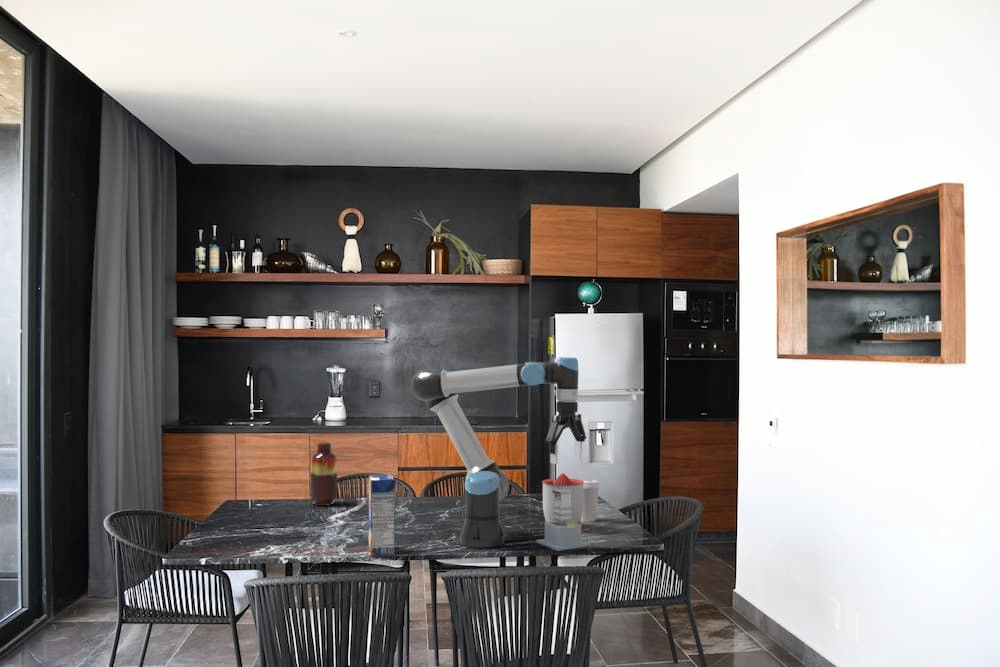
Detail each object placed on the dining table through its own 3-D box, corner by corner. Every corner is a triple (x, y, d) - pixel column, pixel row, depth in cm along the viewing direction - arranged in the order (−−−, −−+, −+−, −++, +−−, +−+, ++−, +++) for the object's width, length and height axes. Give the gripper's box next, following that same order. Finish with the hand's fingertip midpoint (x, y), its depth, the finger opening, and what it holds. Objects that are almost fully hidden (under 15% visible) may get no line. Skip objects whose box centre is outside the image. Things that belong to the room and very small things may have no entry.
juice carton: (368, 547, 257) (368, 474, 257) (391, 545, 258) (391, 474, 259) (371, 556, 245) (371, 480, 246) (394, 554, 247) (394, 479, 248)
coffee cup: (599, 523, 294) (598, 483, 295) (574, 522, 296) (573, 482, 296) (600, 517, 303) (600, 479, 304) (576, 516, 305) (576, 478, 306)
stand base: (557, 550, 252) (557, 526, 252) (536, 542, 263) (536, 519, 264) (589, 546, 258) (589, 522, 258) (568, 538, 270) (568, 515, 270)
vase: (328, 500, 340) (328, 441, 340) (341, 504, 331) (342, 443, 332) (305, 503, 332) (306, 443, 333) (318, 507, 324) (319, 445, 325)
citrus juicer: (576, 520, 298) (576, 468, 299) (589, 530, 281) (589, 475, 282) (536, 522, 295) (536, 469, 296) (547, 532, 278) (547, 476, 279)
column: (560, 546, 257) (560, 492, 258) (552, 542, 262) (552, 490, 262) (573, 544, 260) (573, 491, 260) (565, 540, 264) (564, 488, 265)
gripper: (553, 402, 260) (552, 466, 260) (596, 400, 279) (595, 459, 278) (536, 401, 265) (535, 463, 265) (579, 399, 284) (578, 457, 283)
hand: (566, 461), depth 271 cm, fingers open, 13 cm apart
